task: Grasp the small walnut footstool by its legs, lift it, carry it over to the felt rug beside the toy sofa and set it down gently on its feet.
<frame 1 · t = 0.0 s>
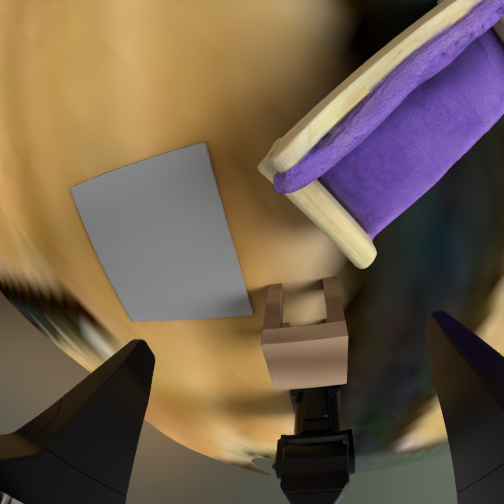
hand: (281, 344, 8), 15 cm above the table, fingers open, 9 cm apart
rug: (157, 249, 25), on the table
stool: (305, 307, 26), on the table
toy sofa: (403, 99, 16), on the table
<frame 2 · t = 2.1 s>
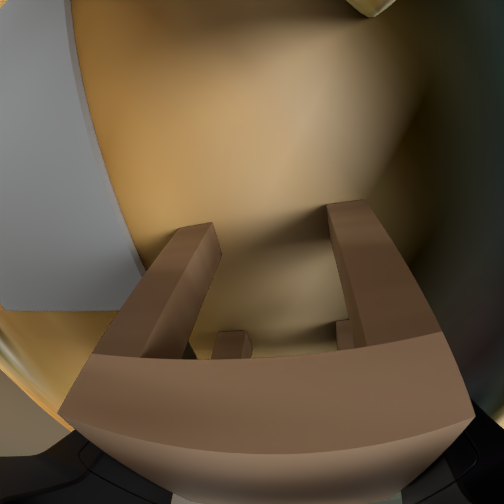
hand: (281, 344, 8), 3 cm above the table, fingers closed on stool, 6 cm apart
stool: (283, 291, 10), on the table, touching gripper
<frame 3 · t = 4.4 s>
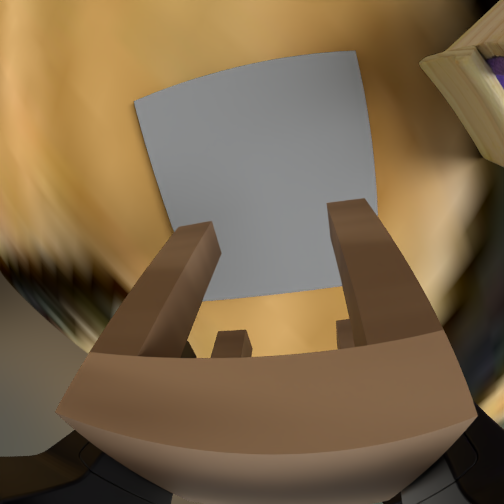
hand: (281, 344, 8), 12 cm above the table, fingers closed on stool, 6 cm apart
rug: (266, 189, 18), on the table
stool: (283, 290, 10), point 9 cm above the table, touching gripper
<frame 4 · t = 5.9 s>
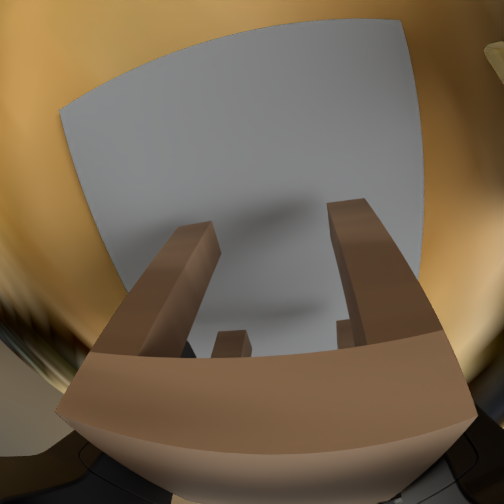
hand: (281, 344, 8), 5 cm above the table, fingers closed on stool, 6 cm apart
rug: (255, 240, 12), on the table
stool: (283, 290, 10), point 2 cm above the table, touching gripper
when the fingers open (4 cm above the table, at t = 7.1 s): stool stays where it is, resting on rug.
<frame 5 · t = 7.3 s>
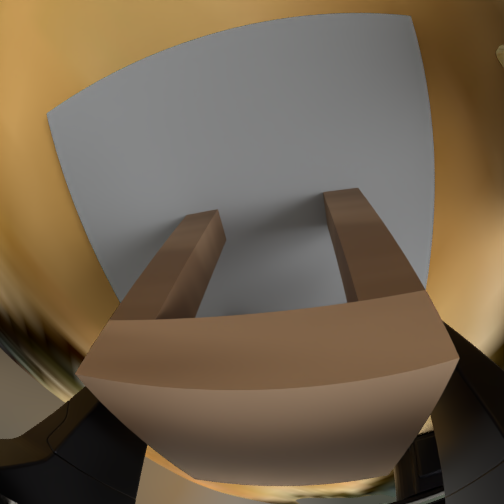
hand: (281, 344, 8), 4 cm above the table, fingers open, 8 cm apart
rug: (253, 252, 11), on the table
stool: (284, 274, 11), resting on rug
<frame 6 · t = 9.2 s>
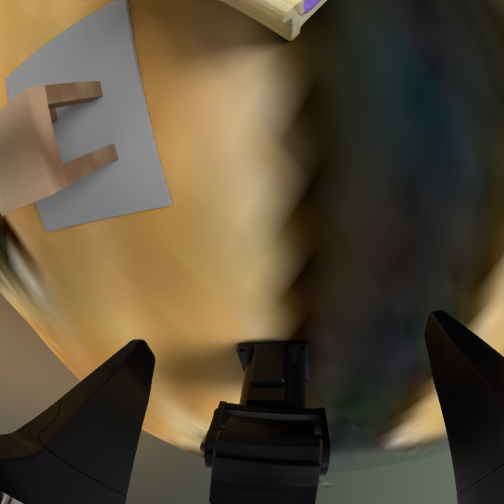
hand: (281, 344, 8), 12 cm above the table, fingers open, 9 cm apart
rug: (69, 125, 16), on the table
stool: (78, 132, 16), resting on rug
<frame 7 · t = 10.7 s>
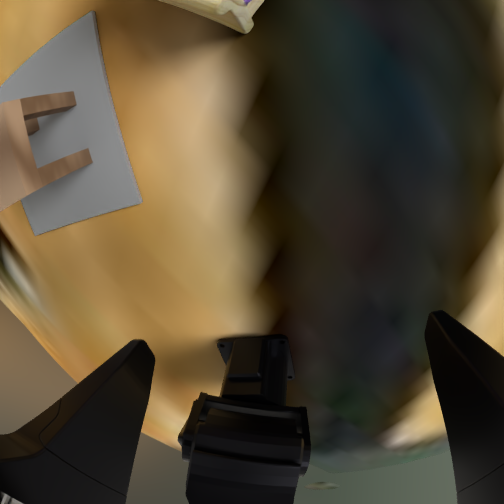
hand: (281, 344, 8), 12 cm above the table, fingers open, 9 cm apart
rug: (50, 134, 17), on the table
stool: (57, 140, 17), resting on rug
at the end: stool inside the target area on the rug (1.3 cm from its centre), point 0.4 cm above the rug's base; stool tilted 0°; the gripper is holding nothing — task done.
